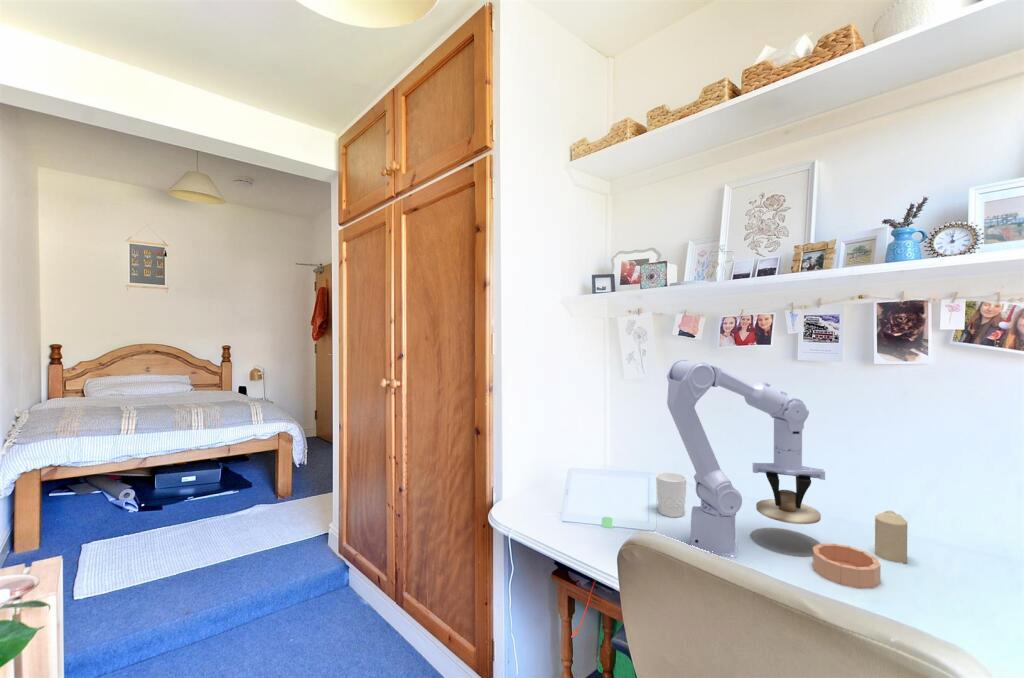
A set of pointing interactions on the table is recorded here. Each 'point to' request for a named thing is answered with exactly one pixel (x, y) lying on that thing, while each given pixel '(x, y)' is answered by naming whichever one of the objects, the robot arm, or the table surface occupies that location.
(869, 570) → the bowl
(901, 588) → the table surface
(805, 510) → the lid
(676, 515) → the white cup
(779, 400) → the robot arm
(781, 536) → the mat
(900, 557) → the candle
